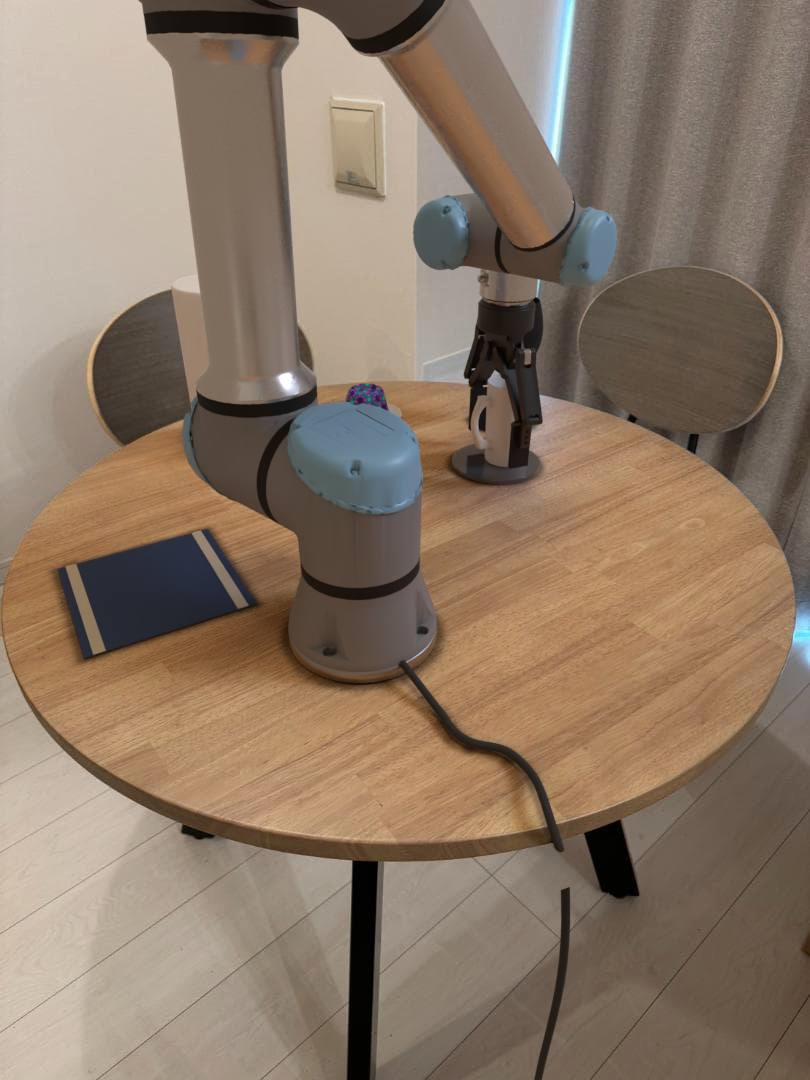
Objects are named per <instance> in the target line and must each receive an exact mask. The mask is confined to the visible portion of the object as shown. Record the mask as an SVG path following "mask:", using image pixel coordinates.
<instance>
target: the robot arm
mask: <svg viewBox="0 0 810 1080" xmlns="http://www.w3.org/2000/svg"><path fill="white" fill-rule="evenodd" d="M137 1H138V2H139V3H140V4H141V7H142V13H143V21H144V27H145V34H146V42H148V43H149V44H150V45H151V46H152V47H153V48H154V50H155V51H157V53H158V54H159V55H160V56H161V57H162V58H163V59H164V60H165V61H166V62H167V64H168V65H169V67H170V71H171V78H172V86H173V92H174V93H173V94H174V100H175V109H176V116H177V125H178V130H179V139H180V147H181V155H182V163H183V171H184V179H185V185H186V186H185V187H186V194H187V195H186V196H187V201H188V209H189V217H190V227H191V233H192V241H193V249H194V256H195V264H196V265H195V266H196V272H197V273H196V274H198V280H199V288H200V296H201V304H202V312H203V319H204V327H205V335H206V343H207V351H208V358H209V365H208V367H207V368H206V369H205V370H204V372H203V373H202V374H201V375H200V376H199V377H198V378H197V380H196V392H197V395H196V396H195V398H194V399H193V400H192V402H191V404H190V403H189V405H190V410H189V412H186V413H185V415H184V418H183V422H182V428H181V439H182V448H183V452H184V454H185V457H186V460H187V463H188V464H189V466H190V468H191V469H192V470H193V472H194V473H195V475H196V476H197V477H198V478H199V479H200V480H201V481H202V482H203V483H205V484H206V485H208V486H209V487H210V488H211V489H212V490H213V491H215V492H216V493H217V494H219V495H221V496H223V497H225V498H227V499H228V500H230V501H232V502H235V503H238V504H240V505H241V506H244V507H246V508H248V509H249V510H252V511H254V512H256V513H257V514H260V515H262V516H263V517H264V518H267V519H269V520H271V521H272V522H274V523H276V524H278V525H280V526H282V527H283V528H285V529H287V530H289V531H291V532H292V533H293V534H294V535H295V536H296V538H297V543H298V554H299V563H300V579H299V581H298V586H297V589H296V592H295V595H294V599H293V602H292V606H291V609H290V612H289V616H288V627H287V630H288V637H289V639H288V640H289V645H290V649H291V652H292V654H293V655H294V657H295V658H296V660H297V661H298V662H299V663H300V664H301V665H302V666H303V667H305V668H306V669H307V670H309V671H311V672H313V673H314V674H316V675H318V676H321V677H323V678H326V679H329V680H332V681H336V682H343V683H352V684H366V683H367V684H368V683H377V682H382V681H388V680H390V679H391V680H392V679H394V678H396V677H400V676H402V675H404V674H406V676H407V678H409V680H410V681H411V683H413V685H414V686H415V687H416V689H417V690H418V692H419V693H420V694H421V696H423V698H424V699H425V701H426V702H427V703H428V705H429V706H430V707H431V708H432V710H433V711H434V712H435V714H436V715H437V716H438V718H439V719H440V720H441V722H442V723H443V725H444V726H445V728H446V730H447V731H448V732H449V733H450V734H451V735H452V736H453V738H455V739H456V740H458V741H459V742H461V743H462V744H464V745H465V746H468V747H471V748H474V749H479V750H483V751H490V752H494V753H498V754H501V755H504V756H506V757H508V758H509V759H510V760H512V762H514V763H515V764H516V765H517V766H518V767H519V768H520V769H521V770H522V771H523V772H524V773H525V774H526V776H527V777H528V779H529V780H530V782H531V784H532V785H533V787H534V789H535V792H536V794H537V797H538V800H539V804H540V807H541V810H542V814H543V817H544V820H545V823H546V826H547V830H548V832H549V836H550V838H551V841H552V845H553V848H554V849H555V851H557V852H558V853H564V851H565V846H564V843H563V839H562V836H561V834H560V831H559V828H558V825H557V821H556V819H555V816H554V812H553V809H552V806H551V803H550V800H549V796H548V794H547V791H546V788H545V786H544V784H543V782H542V780H541V778H540V776H539V775H538V774H537V771H536V770H535V769H534V768H533V767H532V765H531V764H530V762H528V761H527V760H526V759H525V758H524V757H523V756H521V754H519V753H518V752H517V751H515V749H512V748H511V747H509V746H507V745H504V744H501V743H498V742H493V741H492V742H491V741H486V740H480V739H476V738H473V737H471V736H469V735H467V734H465V733H464V732H462V731H461V730H460V729H458V727H457V726H456V725H455V724H454V722H453V721H452V719H451V718H450V717H449V715H448V714H447V712H446V711H445V710H444V708H443V707H442V706H441V704H440V703H439V702H438V701H437V699H436V698H435V697H434V696H433V694H432V693H431V692H430V689H428V688H427V686H426V685H425V684H424V682H423V681H422V680H421V678H420V677H419V676H418V675H417V674H416V672H415V671H414V670H413V669H415V668H416V667H418V666H420V664H422V663H423V662H424V661H425V660H426V659H427V658H428V657H429V656H430V654H431V653H432V651H433V649H434V647H435V645H436V641H437V637H438V635H437V634H438V618H437V612H436V608H435V605H434V603H433V600H432V597H431V594H430V591H429V589H428V587H427V584H426V581H425V578H424V576H423V574H422V571H421V538H422V537H421V533H422V502H423V501H422V500H423V499H422V497H423V484H424V483H423V482H424V477H423V473H424V470H423V467H422V463H421V449H420V443H419V440H418V437H417V435H416V433H415V432H414V430H413V429H412V428H411V426H410V425H409V424H408V423H407V422H406V421H405V420H404V419H402V417H401V418H400V417H398V416H396V415H395V414H393V413H391V412H389V411H387V410H384V409H382V408H379V407H376V406H372V405H368V404H363V403H361V404H360V405H352V404H351V403H350V402H346V401H331V402H325V403H324V402H323V403H320V404H319V399H318V396H319V395H318V383H317V380H318V379H317V375H316V374H315V372H313V370H311V368H310V367H308V366H307V365H306V364H305V363H304V362H302V360H301V358H300V343H299V342H300V341H299V328H298V327H299V326H298V324H299V323H298V311H297V310H298V309H297V295H296V294H297V293H296V279H295V277H296V275H295V264H294V263H295V262H294V245H293V230H292V215H291V213H292V212H291V199H290V183H289V167H288V151H287V133H286V118H285V105H284V104H285V102H284V87H283V69H284V65H286V63H287V61H288V60H289V58H291V56H292V55H293V54H294V52H295V51H296V49H297V48H298V47H299V46H300V32H299V31H300V29H299V10H298V9H300V8H301V9H305V10H308V11H310V12H313V13H315V14H317V15H319V16H321V17H323V18H324V19H326V20H328V21H329V22H330V23H332V24H333V25H334V26H335V27H336V28H337V30H338V31H340V33H341V34H342V35H343V36H344V38H345V39H346V41H347V42H348V44H349V45H350V46H351V48H352V49H353V50H354V51H355V52H356V53H358V54H359V55H361V56H364V57H369V58H377V59H378V60H379V61H380V63H381V64H382V66H383V68H385V70H386V72H387V73H388V74H389V75H390V77H391V78H392V80H393V81H394V83H395V84H396V85H397V87H398V88H399V89H400V91H401V93H402V94H403V95H404V97H405V98H406V99H407V101H408V102H409V103H410V105H411V106H412V108H413V109H414V110H415V112H416V113H417V115H418V117H419V118H420V119H421V120H422V122H423V123H424V125H425V126H426V128H427V129H428V130H429V132H430V133H431V134H432V136H433V137H434V139H435V140H436V142H437V143H438V144H439V146H440V147H441V149H442V150H443V152H444V153H445V154H446V156H447V157H448V158H449V160H450V161H451V163H452V164H453V165H454V167H455V168H456V170H457V171H458V172H459V174H460V175H461V176H462V178H463V179H464V181H465V182H466V184H467V185H468V186H469V188H470V189H471V191H472V192H471V193H470V192H469V193H464V194H457V195H456V194H455V195H449V194H447V195H446V194H445V195H443V196H442V197H440V198H436V199H432V200H430V201H427V202H426V203H424V204H423V205H422V206H421V207H420V209H419V210H418V212H417V213H416V215H415V218H414V220H413V225H412V228H413V229H412V236H413V237H412V241H413V245H414V249H415V252H416V253H417V256H418V257H419V258H420V260H421V261H422V262H423V264H425V265H426V266H427V267H428V268H431V269H433V270H436V271H445V270H451V271H454V270H456V269H459V268H460V267H469V268H473V269H474V268H475V269H479V270H480V273H479V274H478V276H477V282H478V283H479V289H478V290H479V292H478V293H479V296H480V297H481V298H480V300H479V301H478V303H477V318H478V320H477V319H476V323H477V324H476V323H475V325H474V326H475V328H474V336H473V340H472V344H471V348H470V350H469V354H468V357H467V359H466V360H467V361H466V364H465V367H464V371H463V378H464V379H465V380H468V382H467V383H468V387H469V388H470V390H469V406H468V407H469V408H468V409H469V411H468V427H467V428H468V430H469V431H470V432H471V417H472V413H473V410H474V407H475V405H476V402H477V399H478V396H482V395H486V396H487V384H488V379H489V378H490V377H491V376H493V374H494V372H495V369H496V368H497V369H498V370H499V372H500V376H501V378H502V379H504V380H505V382H506V386H507V390H508V395H509V399H510V403H511V407H512V411H513V415H514V419H515V421H514V422H512V423H511V435H510V447H509V459H508V467H509V468H510V469H511V468H517V467H523V466H528V458H529V450H530V447H531V440H532V438H531V437H532V429H533V426H538V425H542V424H543V420H544V419H543V412H542V410H543V409H542V402H541V396H540V389H539V388H540V387H539V380H538V373H537V353H536V349H535V348H528V349H526V348H524V342H523V337H524V335H525V334H526V333H528V332H530V331H531V330H532V329H533V327H534V317H535V306H536V304H535V303H534V301H533V299H534V298H535V297H537V296H538V285H539V280H540V281H543V282H549V283H554V284H559V285H560V286H561V287H562V286H563V287H564V286H566V285H568V286H575V287H576V286H577V287H585V288H586V287H592V286H594V285H597V284H598V283H599V282H600V281H601V280H602V279H603V278H604V277H605V276H606V274H607V273H608V271H609V268H610V266H611V264H612V263H613V260H614V257H615V254H616V249H617V242H618V229H617V224H616V222H615V219H614V217H613V216H612V214H610V213H608V212H607V211H605V210H600V209H595V208H594V207H593V206H587V207H582V206H581V205H580V204H579V203H578V201H577V199H576V197H575V195H574V194H573V192H572V190H571V188H570V186H569V183H568V182H567V180H566V179H565V176H564V174H563V173H562V171H561V169H560V167H559V165H558V162H556V160H555V158H554V156H553V154H552V152H551V150H550V148H549V146H548V145H547V143H546V141H545V139H544V137H543V135H542V133H541V132H540V129H539V127H538V126H537V124H536V122H535V120H534V118H533V116H532V115H531V113H530V111H529V108H528V106H527V105H526V103H525V101H524V100H523V97H522V96H521V93H520V92H519V90H518V88H517V87H516V84H515V83H514V81H513V79H512V77H511V75H510V73H509V71H508V69H507V68H506V66H505V64H504V61H503V60H502V59H501V56H500V54H499V53H498V51H497V49H496V47H495V45H494V43H493V41H492V39H491V38H490V36H489V34H488V31H487V30H486V28H485V26H484V24H483V23H482V21H481V18H480V17H479V15H478V13H477V12H476V9H475V7H474V6H473V4H472V2H471V0H137ZM191 406H192V408H191ZM478 428H479V431H480V430H481V429H486V407H485V408H484V409H483V410H482V412H481V414H480V416H479V420H478ZM570 936H571V886H568V887H565V888H563V889H560V940H559V941H560V942H559V952H558V965H557V972H556V979H555V983H554V984H555V985H554V990H553V996H552V1000H551V1006H550V1010H549V1014H548V1017H547V1023H546V1027H545V1031H544V1035H543V1040H542V1043H541V1047H540V1052H539V1055H538V1058H537V1059H538V1060H537V1064H536V1069H535V1074H534V1078H533V1080H543V1077H544V1072H545V1068H546V1065H547V1060H548V1056H549V1052H550V1048H551V1044H552V1040H553V1036H554V1033H555V1030H556V1029H555V1028H556V1026H557V1021H558V1018H559V1017H558V1016H559V1014H560V1013H559V1012H560V1008H561V1005H562V1000H563V995H564V989H565V984H566V977H567V971H568V962H569V953H570Z"/></svg>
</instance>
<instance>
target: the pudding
mask: <svg viewBox="0 0 810 1080" xmlns="http://www.w3.org/2000/svg"><path fill="white" fill-rule="evenodd" d="M345 402H350V403H351V404H352V405H360V404H361V403H363V404H368V405H372V406H376V407H379V408H382V409H384V410H387V411H389V412H391V413H393V414H395V415H396V416H398V417H400V418H401V419H402V416H403V412H402V410H401V409H400V408H399V407H398V406H397V405H394V404H392V403H389V402H387V398H386V394H385V391H384V389H383V387H382V386H380V385H376V384H375V383H359V384H354V385H352V386H351V387H350V388H349V389H348V390H347V393H346V397H345Z"/></svg>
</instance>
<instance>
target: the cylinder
mask: <svg viewBox="0 0 810 1080" xmlns="http://www.w3.org/2000/svg"><path fill="white" fill-rule="evenodd" d="M170 289H171V296H172V302H173V307H174V314H175V319H176V325H177V331H178V337H179V342H180V349H181V355H182V361H183V368H184V373H185V374H184V375H185V379H186V380H185V381H186V385H187V391H188V397H189V405H190V404H191V402H192V400H193V399H194V398H195V396H196V395H197V392H196V380H197V378H198V377H199V376H200V375H201V374H202V373H203V372H204V370H205V369H206V368H207V367H208V365H209V358H208V351H207V343H206V335H205V327H204V319H203V312H202V304H201V296H200V288H199V280H198V273H194V274H190V275H185V276H183V277H182V276H181V277H180V278H177V279H175V280H174V281H172V282H171V284H170ZM191 408H192V406H191V405H190V409H191Z"/></svg>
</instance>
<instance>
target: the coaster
mask: <svg viewBox="0 0 810 1080" xmlns="http://www.w3.org/2000/svg"><path fill="white" fill-rule="evenodd" d="M451 465H452V468H453V469H454V471H455V472H456V473H458V475H460V476H462V477H464V478H466V479H468V480H471V481H474V482H478V483H481V484H482V483H483V484H487V485H488V484H489V485H511V484H518V483H522V482H525V481H528V480H530V479H532V478H534V477H535V476H536V475H537V474H538V473H539V471H540V467H541V461H540V458H539V457H538V455H536V453H534V452H533V451H531V450H530V449H529V458H528V466H523V467H517V468H511V469H510V468H509V467H499V466H495V465H492V464H490V463H489V462H487V461H486V459H485V449H482V450H480V449H478V448H477V447H476V445H475V443H471V444H468V445H465V446H463V447H461V448H459V449H457V450H456V451H455V452H454V454H453V455H452V457H451Z"/></svg>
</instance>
